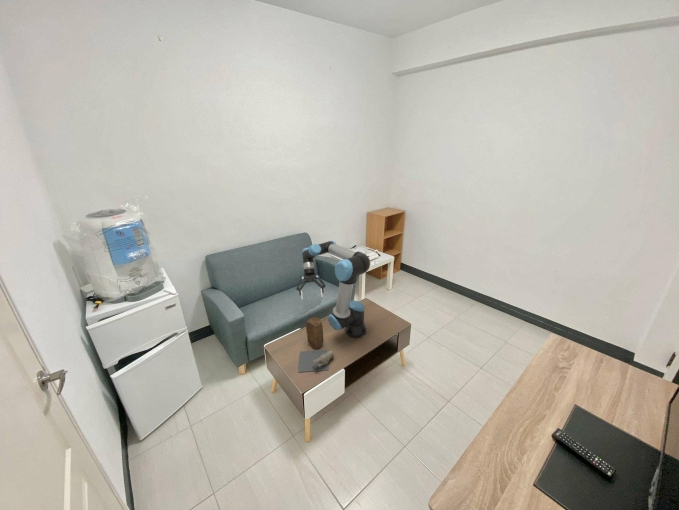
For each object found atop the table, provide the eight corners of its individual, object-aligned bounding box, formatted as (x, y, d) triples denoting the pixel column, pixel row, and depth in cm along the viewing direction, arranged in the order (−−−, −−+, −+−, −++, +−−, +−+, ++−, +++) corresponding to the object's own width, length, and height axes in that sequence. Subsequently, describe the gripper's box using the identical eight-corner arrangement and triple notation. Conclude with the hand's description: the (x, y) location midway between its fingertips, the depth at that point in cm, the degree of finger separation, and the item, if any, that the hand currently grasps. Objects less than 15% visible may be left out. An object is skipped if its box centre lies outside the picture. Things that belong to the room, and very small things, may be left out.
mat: (327, 350, 178) (327, 349, 178) (328, 370, 163) (328, 369, 163) (299, 352, 177) (299, 351, 177) (298, 372, 162) (298, 372, 161)
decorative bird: (336, 358, 171) (335, 349, 168) (317, 373, 160) (316, 364, 157) (330, 354, 174) (329, 345, 171) (311, 369, 163) (310, 359, 160)
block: (324, 345, 183) (323, 320, 175) (316, 351, 178) (314, 326, 170) (314, 337, 190) (312, 313, 182) (305, 343, 185) (303, 319, 177)
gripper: (326, 269, 198) (329, 298, 191) (291, 272, 194) (293, 301, 187) (327, 266, 191) (330, 295, 184) (291, 269, 187) (293, 299, 180)
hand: (312, 298), depth 186 cm, fingers open, 13 cm apart
